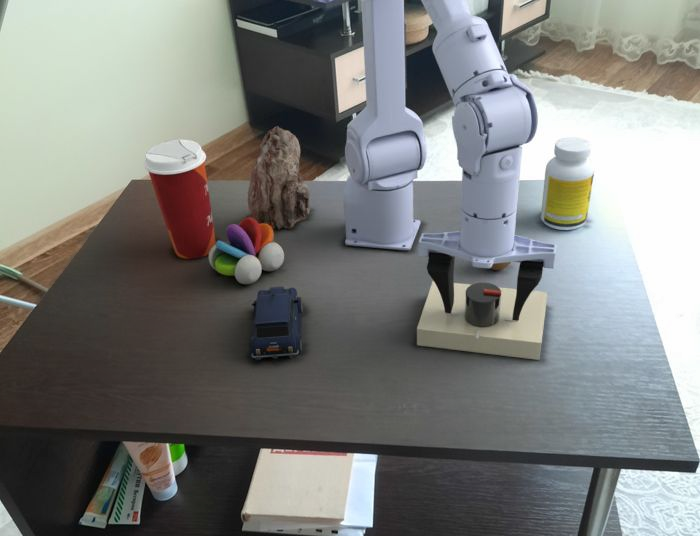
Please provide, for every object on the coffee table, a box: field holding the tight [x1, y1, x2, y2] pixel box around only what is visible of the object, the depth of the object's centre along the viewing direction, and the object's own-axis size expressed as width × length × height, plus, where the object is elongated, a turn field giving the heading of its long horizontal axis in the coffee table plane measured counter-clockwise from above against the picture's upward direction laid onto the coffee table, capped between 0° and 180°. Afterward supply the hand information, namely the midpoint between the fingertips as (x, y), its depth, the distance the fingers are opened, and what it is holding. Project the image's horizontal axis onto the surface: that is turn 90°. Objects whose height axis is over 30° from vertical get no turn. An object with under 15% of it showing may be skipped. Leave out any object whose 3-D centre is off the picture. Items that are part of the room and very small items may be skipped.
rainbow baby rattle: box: [208, 216, 285, 285], centre depth 98 cm, size 8×10×7 cm
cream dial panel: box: [416, 280, 548, 361], centre depth 86 cm, size 14×11×3 cm
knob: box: [465, 282, 501, 327], centre depth 84 cm, size 4×4×4 cm
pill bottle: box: [540, 136, 595, 231], centre depth 102 cm, size 6×6×12 cm
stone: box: [247, 125, 311, 230], centre depth 106 cm, size 15×7×10 cm
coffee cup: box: [143, 139, 217, 260], centre depth 101 cm, size 8×8×15 cm
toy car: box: [248, 286, 303, 361], centre depth 87 cm, size 6×12×6 cm, turn 2°
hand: (482, 311), depth 84 cm, fingers open, 7 cm apart
